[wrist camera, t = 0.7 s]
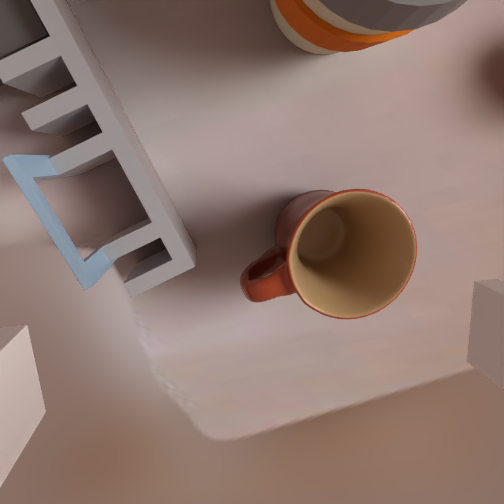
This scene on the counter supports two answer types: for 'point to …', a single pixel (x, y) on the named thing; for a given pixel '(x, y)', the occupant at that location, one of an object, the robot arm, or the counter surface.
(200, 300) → the counter surface
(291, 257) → the mug
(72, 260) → the blue bezel
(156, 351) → the counter surface
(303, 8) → the reusable coffee cup
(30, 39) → the grey banded bar
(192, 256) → the grey slotted rack
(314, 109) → the counter surface
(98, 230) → the counter surface
